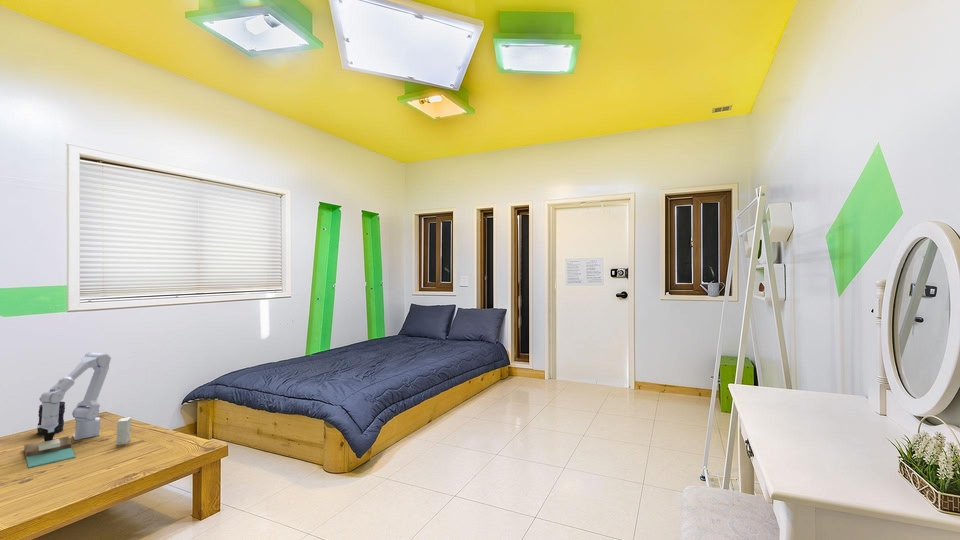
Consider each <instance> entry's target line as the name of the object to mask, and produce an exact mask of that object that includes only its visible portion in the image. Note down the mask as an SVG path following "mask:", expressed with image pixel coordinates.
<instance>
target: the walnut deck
mask: <svg viewBox="0 0 960 540" xmlns="http://www.w3.org/2000/svg"><path fill="white" fill-rule="evenodd" d="M55 439H59V440H60V447H55V448H50V449H46V450H41V451H39V449H38V443H40V442H45V441H44V440H42V441H37V442H33V443H27V444H24V445H23V446H24V449H23V450H24V454H25V455H26V456H25V455H24V456H25V458H26V457H29V456H33V455H38V454H43V453H48V452H53V451H57V450H62V449H67V448H72V442H71V440H70V438H69V436H65V437H64V436H63V437H58V438H53V440H55Z"/></svg>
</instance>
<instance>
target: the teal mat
mask: <svg viewBox="0 0 960 540" xmlns="http://www.w3.org/2000/svg"><path fill="white" fill-rule="evenodd" d="M71 459H76V455H75V452H74V451H73V448H72V447H71V448H67V449H62V450H57V451H53V452H48V453H43V454H38V455H33V456H29V457H26V456H25V460H26V463H27V467H28V469H31V468H36V467H40V466H44V465H45V466H46V465H48V464H54V463H58V462H62V461H68V460H71Z"/></svg>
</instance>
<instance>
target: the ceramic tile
mask: <svg viewBox="0 0 960 540" xmlns="http://www.w3.org/2000/svg"><path fill="white" fill-rule="evenodd" d="M54 439H55V440H50V441H45V442H42V441H39V442H40V443H38V449H39V451H41V450H46V449H50V448H55V447H60V440H59V439H57V438H54Z"/></svg>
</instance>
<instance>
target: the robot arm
mask: <svg viewBox="0 0 960 540" xmlns="http://www.w3.org/2000/svg"><path fill="white" fill-rule="evenodd" d="M111 359H112V357H111V356H110V355H109V354H108V353H106V352H93V351H90V352H87V353H85V355H84V356H82V358H81V361H80V362H79V363H78V365H77V366H76V367H75V368H74V369H73V370H72V371H71V372H70V373H69V374H68V375H67V376H65V377H62V378H60V379H59V380H58V381H57V383H56V384H55V385H53V386H52V387H51V388H50V389H49V390H46V391H44V392H43V393H42V394H41V395H40V397H39V401H40V402H41V405H42V406H43V409H42V422H41V425H39V426H38V425H37V427H38V428H43V429H41V432H42V433H43V441H50V440H53V439H54V437H55V433H56V431H57V430H58V428H57V425H58V424H59V423H58V417H59V403H60V402H62V401H63V399H64V397H65V395H66V393H67V392H68V391H69V390H70V389H71V388H72V387H73V386H74V385H75V383H76V379H78V378H79V377H80V376H81V375H82V374H84V372H86V371H87V370H88V369H93V370H94V371H93V373H92V376H91V379H90V381H89V385H88V387H87V389H86V392H85V394H84V397H83V400H82V401H81V400H80V402H78V403H77V405H76V406H75V408H74V409H73V410H72V413H71V416H72V418H74V421H75V425H74V426H75V428H74V434H72V437H73V439H74V440H75V441H77V440H82V439H86V438H92V437H97V436H100V428H101V418H100V416H99V414H100V407H101V405H100V403H99V402H98V399H99V396H100V393H101V390H102V388H103V385H104V383H105V380H106V378H107V375H108V371H109V370H110V363H111ZM56 434H57V433H56Z"/></svg>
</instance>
